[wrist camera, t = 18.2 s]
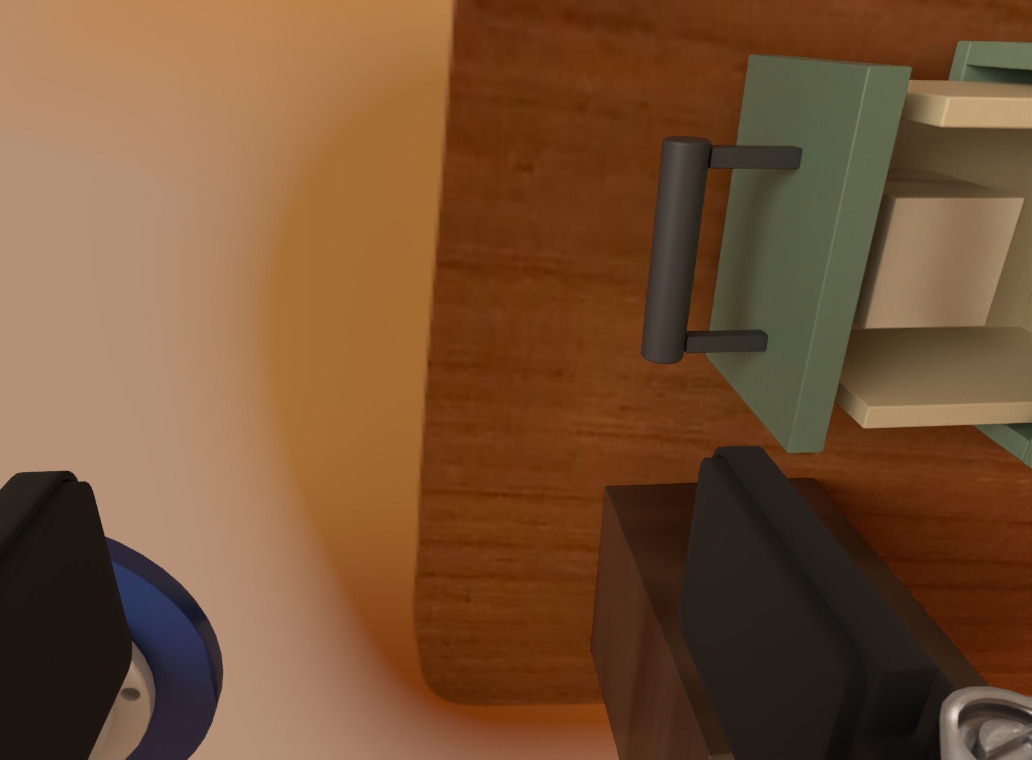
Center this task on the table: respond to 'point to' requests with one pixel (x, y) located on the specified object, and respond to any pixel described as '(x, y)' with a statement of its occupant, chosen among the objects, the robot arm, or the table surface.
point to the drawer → (842, 249)
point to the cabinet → (998, 66)
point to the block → (935, 252)
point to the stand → (656, 631)
